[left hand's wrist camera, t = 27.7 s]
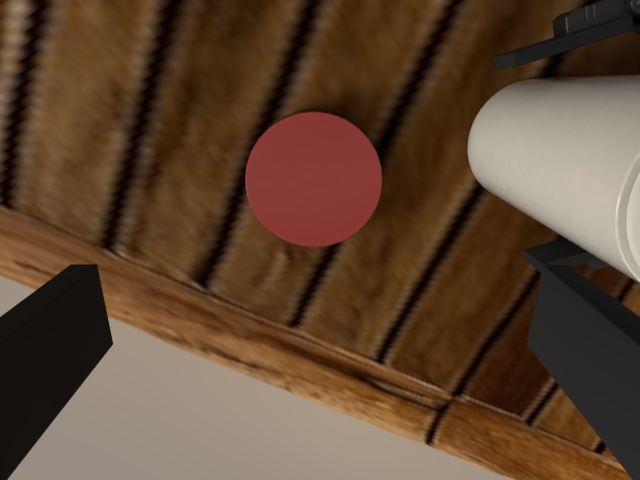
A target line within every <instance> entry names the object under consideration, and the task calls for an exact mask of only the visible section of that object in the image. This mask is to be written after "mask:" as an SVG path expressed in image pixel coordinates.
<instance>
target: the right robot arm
mask: <svg viewBox="0 0 640 480" xmlns="http://www.w3.org/2000/svg"><path fill="white" fill-rule="evenodd" d="M553 29H554V38H551V39H547V40H544V41H541V42H538V43H535V44H532V45H529V46H526V47H522V48H519V49H516V50H513V51H510V52H507V53H504V54H501V55H497V56H494V63H495V69H504V68H515V67H518V66H521V65H524V64H527V63H530V62H534V61H537V60H540V59H543V58H546V57H549V56H553V55H556V54H559V53H562V52H565V51H568V50H572V49H575V48H578V47H581V46H584V45H587V44H590V43H594V42H597V41H600V40H603V39H606V38H609V37H613V36H616V35H619V34H622V33H625V32H628V31H633V32H635V33H637V34H639V35H640V0H603V1H600V2H597V3H594V4H591V5H588V6H585V7H582V8H579V9H576V10H573V11H569V12H566V13H563V14H561V15H559V16H558V17H557V18H555V19H554V20H553ZM523 253H524V259H525V260H527V261H528V262H529V263H530V264H531V265H533V266H534V267H535V268H536V269H537V270H539V271H540V272H542V267H543V265H570V266H575V265H579V264H583V265H585V266H586V267H588V268H589V269H597V270H598V269H601V268H605V267H609V266H611V265H609V264H607V263H606V262H604V261H602V260H601V259H599V258H598V257H596V256H594V255H593V254H591V253H589V252H588V251H586V250H584V249H583V248H581V247H580V246H578V245H576V244H575V243H573V242H571V241H570V240H568V239H566V238H563V239H559V240H555V241H552V242H548V243H545V244H541V245H537V246H534V247H530V248H526V249H523Z"/></svg>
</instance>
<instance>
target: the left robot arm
mask: <svg viewBox="0 0 640 480" xmlns="http://www.w3.org/2000/svg"><path fill="white" fill-rule="evenodd" d="M112 345H113V341H112V336H111V331H110V326H109V321H108V316H107V311H106V306H105V302H104V297H103V292H102V287H101V282H100V277H99V272H98V267H97V265H70V266H68V267H67V268H66V269H64V270H63V271H62V272H60V273H59V274H58V275H56V276H55V277H54V278H52V279H51V280H49V281H48V282H47V283H45V284H44V285H43V286H41V287H40V288H39V289H37V290H36V291H35V292H33V293H32V294H31V295H29V296H28V297H27V298H25V299H24V300H23V301H21V302H20V303H19V304H17V305H16V306H15V307H13V308H12V309H11V310H9V311H8V312H7V313H5V314H4V315H2V316H1V317H0V480H7V479H8V478H9V477H10V475H11V474H12V473H13V472H14V470H15V469H16V468H17V466H18V465H19V464H20V463H21V461H22V460H23V459H24V457H25V456H26V455H27V454H28V452H29V451H30V450H31V448H32V447H33V446H34V445H35V443H36V442H37V441H38V439H39V438H40V437H41V436H42V434H43V433H44V432H45V431H46V429H47V428H48V427H49V425H50V424H51V423H52V422H53V420H54V419H55V418H56V417H57V415H58V414H59V413H60V411H61V410H62V409H63V408H64V406H65V405H66V404H67V402H68V401H69V400H70V399H71V397H72V396H73V395H74V393H75V392H76V391H77V390H78V388H79V387H80V386H81V385H82V383H83V382H84V381H85V379H86V378H87V377H88V376H89V374H90V373H91V372H92V370H93V369H94V368H95V367H96V365H97V364H98V363H99V361H100V360H101V359H102V358H103V356H104V355H105V354H106V353H107V351H108V350H109V349H110V347H111V346H112ZM527 345H528V346H529V347H530V349H531V350H532V351H533V353H534V354H535V355H536V356H537V358H538V359H539V360H540V361H541V363H542V364H543V365H544V367H545V368H546V369H547V370H548V372H549V373H550V374H551V376H552V377H553V378H554V379H555V381H556V382H557V383H558V385H559V386H560V387H561V388H562V390H563V391H564V392H565V393H566V395H567V396H568V397H569V399H570V400H571V401H572V402H573V404H574V405H575V406H576V408H577V409H578V410H579V411H580V413H581V414H582V415H583V417H584V418H585V419H586V420H587V422H588V423H589V424H590V425H591V427H592V428H593V429H594V431H595V432H596V433H597V434H598V436H599V437H600V438H601V440H602V441H603V442H604V443H605V445H606V446H607V447H608V448H609V450H610V451H611V452H612V454H613V455H614V456H615V457H616V459H617V460H618V461H619V463H620V464H621V465H622V466H623V468H624V469H625V470H626V472H627V473H628V474H629V475H630V477H631V478H632V479H633V480H640V317H639V316H638V315H636V314H635V313H634V312H632V311H631V310H630V309H628V308H627V307H625V306H624V305H623V304H621V303H620V302H619V301H617V300H616V299H615V298H613V297H612V296H611V295H609V294H608V293H607V292H605V291H604V290H603V289H601V288H600V287H599V286H597V285H596V284H595V283H593V282H592V281H591V280H589V279H588V278H586V277H585V276H584V275H582V274H581V273H580V272H578V271H577V270H576V269H574V268H573V267H572V266H570V265H543V267H542V272H541V277H540V282H539V287H538V292H537V297H536V302H535V306H534V311H533V316H532V321H531V326H530V331H529V336H528V341H527Z"/></svg>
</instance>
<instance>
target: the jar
mask: <svg viewBox="0 0 640 480" xmlns="http://www.w3.org/2000/svg"><path fill="white" fill-rule="evenodd" d="M468 159H469V164H470V167H471V169H472V172H473V174H474V176H475V177H476V179H477V180H478V181H479V183H480V184H481V185H482V186H483V187H484V188H485V189H487V190H488V191H489V192H491V193H493V194H494V195H496V196H498V197H499V198H501V199H502V200H504V201H506V202H507V203H509V204H511V205H512V206H514V207H516V208H517V209H519V210H520V211H522V212H524V213H525V214H527V215H529V216H530V217H532V218H534V219H535V220H537V221H539V222H540V223H542V224H543V225H545V226H547V227H548V228H550V229H552V230H553V231H555V232H557V233H558V234H560V235H561V236H563V237H565V238H566V239H568V240H570V241H571V242H573V243H575V244H576V245H578V246H580V247H581V248H583V249H584V250H586V251H588V252H589V253H591V254H593V255H594V256H596V257H598V258H599V259H601V260H602V261H604V262H606V263H607V264H609V265H611V266H612V267H614V268H616V269H617V270H619V271H620V272H622V273H624V274H625V275H627V276H629V277H630V278H632V279H634V280H635V281H637V282H639V283H640V75H615V76H587V77H559V78H532V79H526V80H521V81H518V82H515V83H513V84H511V85H508V86H506V87H505V88H503V89H502V90H500V91H499V92H497V93H496V94H495V95H494V96H492V97H491V98H490V99H489V100H488V101H487V102H486V103H485V105H484V106H483V107H482V108H481V110H480V111H479V113H478V115H477V116H476V118H475V120H474V122H473V125H472V128H471V130H470V134H469V139H468Z"/></svg>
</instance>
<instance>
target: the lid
mask: <svg viewBox="0 0 640 480" xmlns="http://www.w3.org/2000/svg"><path fill="white" fill-rule="evenodd" d="M268 128H269V129H268V130H267V131H266V132H265V133H264V134H263V135H262V136H260V137H259V138H258V141H257V143H256V144H255V146H254V148H253V150H252V151H251V152H250V153H251V154H250V157H249V160H248V164H247V166H246V168H247V169H246V190H247V195H248V198H249V201H250V204H251V206H252V208H253V211H254V212H255V214H256V216H257V217H258V219H259V220H260V221H261V222H262V223H263V225H264V226H265V227H266V228H267V229H269V230H270V231H271V232H272V233H273V234H275V235H276V236H278V237H280V238H281V239H283V240H285V241H288V242H290V243H293V244H297V245H301V246H308V247H320V246H328V245H332V244H335V243H338V242H341V241H343V240H345V239H347V238H349V237H351V236H352V235H353V234H355V233H356V232H357V231H359V230H360V229H361V228H362V227H363V226H364V225H365V224H366V222H367V221H368V220H369V219H370V217H371V216H372V214H373V213H374V211H375V209H376V207H377V204H378V201H379V198H380V195H381V189H382V170H381V165H380V161H379V158H378V155H377V151H376V150H375V149H374V147H373V145H372V143H371V142H370V140H369V137H368V136H367V135H365V134H364V133H363V132H362V131H361V130H360V129H359V128H358V126H357V125H354V124H353V123H352V122H350V121H348V120H347V119H345V117H344V116H343V117H341V116H339V115H336V114H333V113H330V111H328V112H325V111H314V109H313V111H303V112H299V111H297V113H295V114H291V115H289V116H287V117H283V118H282V119H281V120H279V121H278V122H276V123H275V124H274V125H271V126H269V127H268Z"/></svg>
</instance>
